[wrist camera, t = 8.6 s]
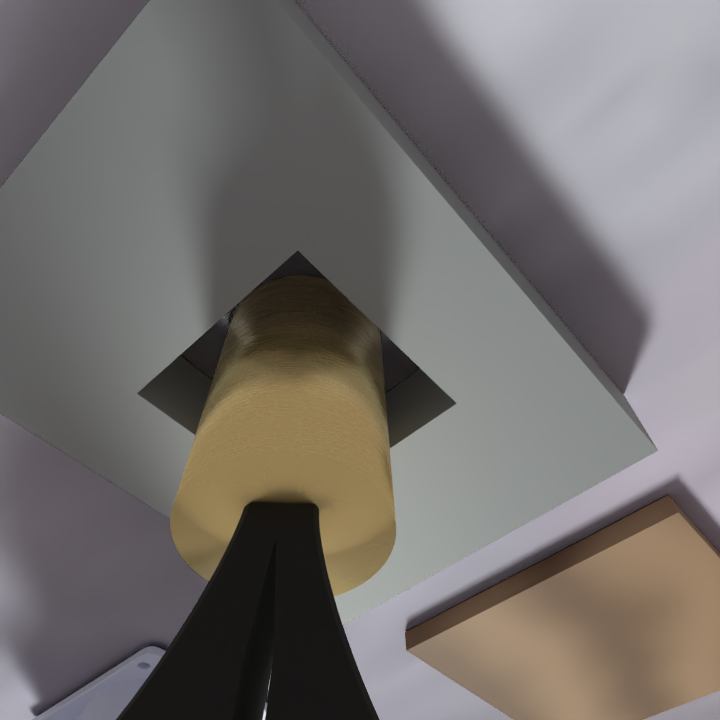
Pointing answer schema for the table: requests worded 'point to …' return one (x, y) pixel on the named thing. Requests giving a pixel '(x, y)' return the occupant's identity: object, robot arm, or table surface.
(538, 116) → the table surface
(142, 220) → the grey square socket plate
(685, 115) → the table surface
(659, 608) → the stand pad
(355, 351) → the brass peg
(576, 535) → the table surface
